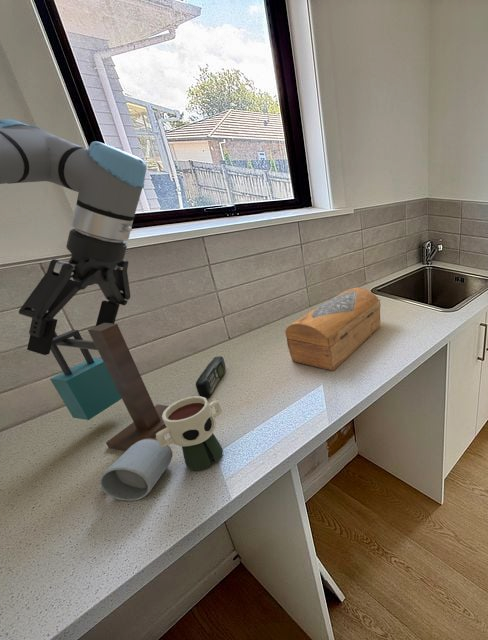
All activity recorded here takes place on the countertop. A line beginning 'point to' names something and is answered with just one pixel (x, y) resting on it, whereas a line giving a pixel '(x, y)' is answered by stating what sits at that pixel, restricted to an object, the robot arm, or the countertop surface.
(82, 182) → the robot arm
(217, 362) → the mobile phone
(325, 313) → the wooden box
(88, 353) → the teal handbag
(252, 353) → the countertop surface
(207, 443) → the character mug
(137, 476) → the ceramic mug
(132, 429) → the hook stand
